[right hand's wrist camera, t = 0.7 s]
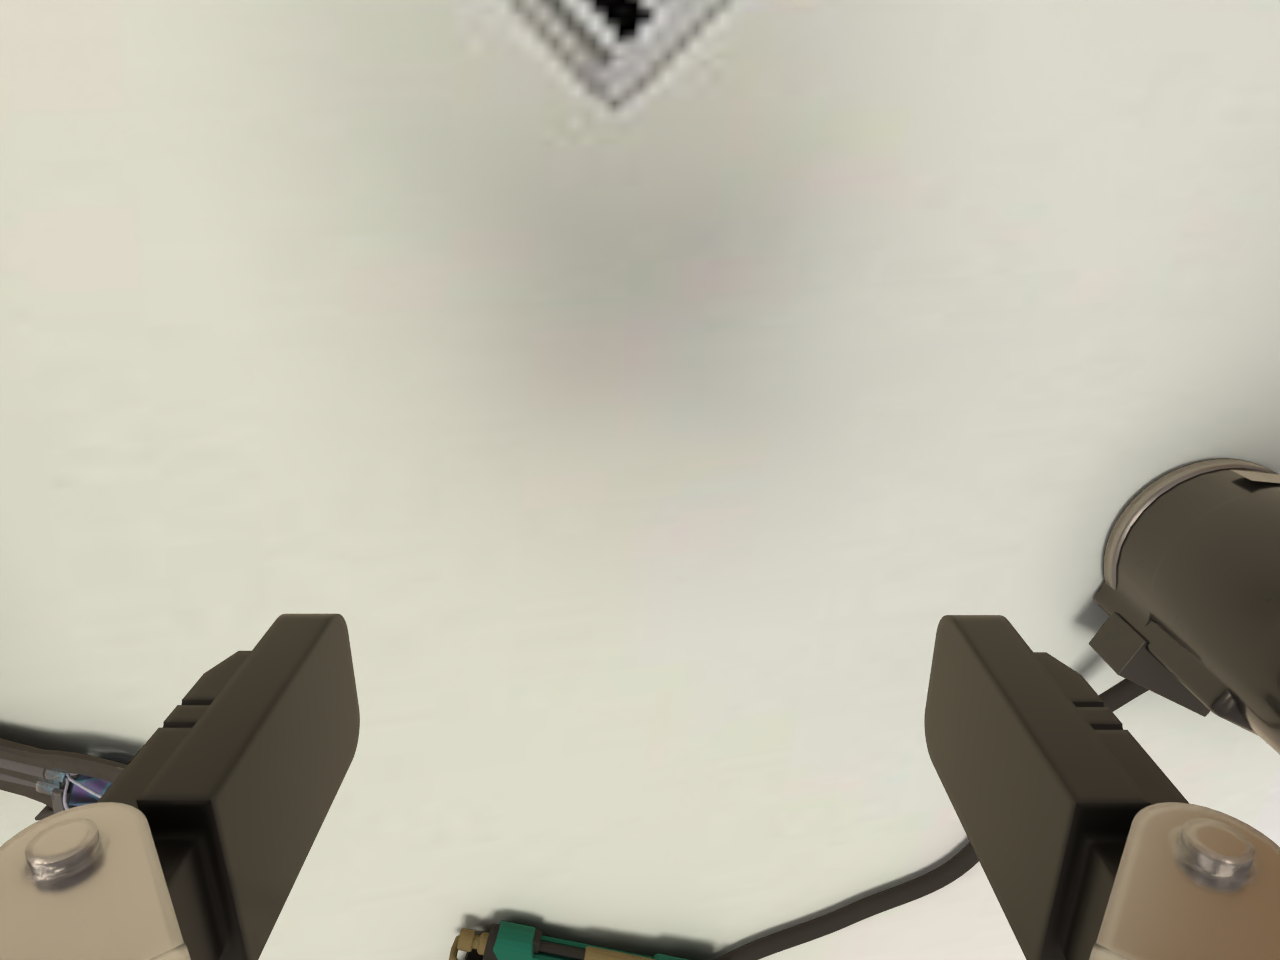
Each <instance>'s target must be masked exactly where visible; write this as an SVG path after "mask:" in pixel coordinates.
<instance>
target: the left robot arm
mask: <svg viewBox="0 0 1280 960" xmlns="http://www.w3.org/2000/svg"><path fill="white" fill-rule="evenodd" d="M1104 578H1105V582H1104V584H1103V586H1102V587H1101V589H1100V590H1099V591H1098V593H1097V594H1096V595H1095V597H1094V600H1095V602H1096V603H1097V604H1098V605H1099V606H1100V607H1102V608H1103V609H1104V610H1105V611H1106V612H1107V613H1108V614H1109V615H1110V617H1109V618H1108V619H1107V621H1106V622H1105V623H1104V624H1103V626H1102V627H1101V628H1100V630H1099V631H1098V632H1097V633H1096V635H1095V636H1094V637H1093V639H1092V640H1091V641H1090V642H1089V645H1090V646H1091V647H1092V648H1093V649H1094V650H1095V651H1096V652H1097V653H1098V654H1099V655H1100V656H1101V657H1102V658H1103V659H1104V661H1105V662H1106V663H1107V664H1108V665H1109V666H1110V667H1111V668H1112V669H1113V670H1114V671H1115V672H1116V673H1117V674H1118V675H1120V676H1122V677H1124V678H1126V679H1124V680H1123V681H1121V682H1119V683H1118V684H1116V685H1115V686H1113V687H1111V688H1110V689H1108V690H1107V691H1105V692H1104V693H1102V694H1100V695H1099V697H1100V698H1101V699H1102V700H1103V702H1104V707H1108V708H1109V709H1110V710H1111V711H1112V712H1113V711H1115V710H1116V709H1118V708H1120V707H1121V706H1123V705H1125V704H1126V703H1128V702H1129V701H1131V700H1133V699H1134V698H1136V697H1138V696H1139V695H1141V694H1143V693H1145V692H1146V691H1148V690H1151V691H1153V692H1155V693H1157V694H1159V695H1161V696H1163V697H1165V698H1167V699H1169V700H1171V701H1173V702H1175V703H1177V704H1179V705H1181V706H1184V707H1186V708H1188V709H1190V710H1192V711H1194V712H1196V713H1198V714H1200V715H1202V716H1204V717H1205V716H1206V715H1207V714H1208V713H1209V712H1210V711H1212V712H1213V713H1214V714H1216V715H1218V716H1219V717H1221V718H1223V719H1225V720H1228V721H1230V722H1232V723H1234V724H1236V725H1238V726H1240V727H1242V728H1244V729H1246V730H1248V731H1250V732H1252V733H1254V734H1256V735H1258V736H1260V737H1261V738H1262V739H1263V740H1264V741H1265V742H1266V743H1267V744H1269V745H1270V746H1271V747H1272V748H1273V749H1274V750H1275V751H1276V752H1278V753H1279V754H1280V474H1277V473H1275V472H1273V471H1271V470H1268V469H1266V468H1264V467H1262V466H1260V465H1257V464H1254V463H1251V462H1247V461H1242V460H1234V459H1216V460H1208V461H1202V462H1198V463H1193V464H1190V465H1187V466H1184V467H1181V468H1179V469H1177V470H1174V471H1172V472H1170V473H1168V474H1166V475H1164V476H1163V477H1161V478H1159V479H1158V480H1156V481H1155V482H1153V483H1152V484H1151V485H1149V486H1148V487H1146V488H1145V489H1144V490H1143V491H1142V492H1141V493H1139V494H1138V495H1137V496H1136V497H1135V498H1134V499H1133V500H1132V501H1131V502H1130V504H1129V505H1128V506H1127V507H1126V509H1125V510H1124V511H1123V513H1122V514H1121V515H1120V517H1119V518H1118V520H1117V522H1116V524H1115V525H1114V527H1113V529H1112V532H1111V534H1110V536H1109V539H1108V542H1107V546H1106V550H1105V555H1104ZM977 862H979V859H978V857H977V855H976V853H975V851H974V849H973V847H972V845H971V842H969V844H968V845H967V846H966V847H965V848H964V849H962V850H961V851H960V852H959V853H958V854H957V855H956V856H954V857H953V858H952V859H951V860H949V861H948V862H946V863H945V864H943V865H942V866H940V867H938V868H937V869H935V870H933V871H931V872H929V873H927V874H925V875H923V876H921V877H919V878H916V879H914V880H912V881H909V882H907V883H904V884H901V885H899V886H896V887H893V888H891V889H888V890H885V891H883V892H880V893H877V894H875V895H872V896H869V897H867V898H864V899H862V900H859V901H857V902H855V903H852V904H850V905H848V906H846V907H843V908H841V909H839V910H836V911H834V912H832V913H829V914H827V915H824V916H822V917H819V918H817V919H814V920H811V921H809V922H806V923H803V924H800V925H797V926H795V927H792V928H789V929H786V930H783V931H780V932H778V933H775V934H772V935H769V936H766V937H764V938H761V939H759V940H756V941H754V942H751V943H749V944H746V945H744V946H742V947H739V948H737V949H735V950H733V951H731V952H729V953H727V954H725V955H723V956H721V957H719V958H717V959H715V960H758V959H761V958H763V957H766V956H769V955H771V954H774V953H777V952H780V951H782V950H785V949H788V948H791V947H794V946H797V945H800V944H803V943H806V942H808V941H811V940H814V939H817V938H820V937H822V936H825V935H827V934H830V933H833V932H835V931H838V930H840V929H842V928H845V927H847V926H849V925H852V924H854V923H856V922H859V921H861V920H863V919H866V918H868V917H871V916H873V915H876V914H878V913H881V912H883V911H886V910H889V909H892V908H894V907H897V906H900V905H902V904H905V903H908V902H911V901H913V900H916V899H918V898H921V897H923V896H925V895H928V894H930V893H932V892H934V891H936V890H938V889H940V888H942V887H944V886H946V885H948V884H949V883H951V882H953V881H954V880H956V879H957V878H959V877H960V876H962V875H963V874H964V873H966V872H967V871H968V870H970V869H971V868H972V867H973V866H974V865H975V864H976V863H977Z"/></svg>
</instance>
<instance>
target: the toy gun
mask: <svg viewBox="0 0 1280 960" xmlns="http://www.w3.org/2000/svg"><path fill="white" fill-rule="evenodd" d="M126 767H127V764H123V763H119V762H115V761H111V760H107V759H104V758H99V757H95V756H91V755H87V754H82V753H76V752H68V751H59V750H47V749H40V748H37V747H33V746H29V745H25V744H21V743H17V742H14V741H10V740H6V739H2V738H0V790H4V791H8V792H12V793H15V794H19V795H23V796H26V797H29V798H31V799H34V800H37V801H39V802H42V803H44V804H46V805H47V806H46V807H45V808H44V809H43V810H42V811H41V812H40V813H39V814H38V815H37V816H36V817H35V820H42V819H44V818H46V817H48V816H51V815H53V814H56V813H58V812H61V811H64V810H67V809H70V808H73V807H77V806H82V805H86V804H93V803H96V802H97V801H98V800H99V799H100V798H101V796H102V795H103V794H104V793H105V792H106V790H107V789H108V788H109V787H110V786H111V784H112V783H113V782H114V781H115V780H116V779H117V777H118V776H119V775H120V774H121V773H122V771H123V770H124V769H125V768H126Z"/></svg>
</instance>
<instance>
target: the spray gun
mask: <svg viewBox="0 0 1280 960" xmlns="http://www.w3.org/2000/svg"><path fill="white" fill-rule="evenodd" d="M458 950H462V951H467V954H466V957H465V960H688V959H683V958H678V957H673V956H669V955H664V954H659V953H658V954H655V955H654V957H650V956H645V955H640V954H635V953H630V952H625V951H619V950H614V949H609V948H604V947H599V946H594V945H589V944H584V943H579V942H574V941H569V940H564V939H558V938H553V937H548V936H543V935H542V931H540V930H537V929H536V928H535V927H531V926H526V925H521V924H516V923H512V922H507V921H501V923H500V925H497V924H492V925H491V929H490V933H487V932H483V933H481V935H480V936H479V935H476V931H475V930H470V929H465V928H463V929H462V930H461V933H460V935H459V936H457V937H456V938H455V941H454V943H453V946H452V948H451V952H450V957H449V960H458V959H457V952H458Z"/></svg>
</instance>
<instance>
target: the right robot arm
mask: <svg viewBox="0 0 1280 960" xmlns="http://www.w3.org/2000/svg"><path fill="white" fill-rule="evenodd" d="M359 726H360V714H359V705H358V698H357V691H356V684H355V677H354V670H353V663H352V656H351V649H350V642H349V635H348V629H347V625H346V622H345V620H344V618H343V617H342V616H341V615H340V614H282V615H281V616H279V617H278V618H277V619H276V621H275V622H274V623H273V624H272V626H271V627H270V628H269V630H268V631H267V632H266V633H265V635H264V636H263V637H262V639H261V640H260V641H259V643H258V644H257V645H256V646H255V648H254V649H253V650H252V651H238V652H236V653H235V654H233V655H232V656H230V657H229V658H227V659H226V660H224V661H223V662H221V663H220V664H218V665H216V666H215V667H213V668H212V669H210V670H209V671H207V672H206V673H204V674H203V675H202V677H201V678H200V679H199V680H198V681H197V683H196V684H195V685H194V686H193V687H192V689H191V690H190V691H189V692H188V693H187V695H186V696H185V697H184V698H183V699H182V705H177V707H176V708H175V709H174V710H173V711H172V713H171V714H170V715H169V716H168V717H167V719H166V720H165V721H164V726H163V728H158V729H157V731H156V732H155V733H154V734H153V735H152V737H151V738H150V739H149V740H148V741H147V743H146V744H145V745H144V746H143V747H142V749H141V750H140V751H139V752H138V753H137V755H136V756H135V757H134V758H133V759H132V761H131V762H130V763H129V764H128V765H127V767H126V768H125V769H124V770H123V771H122V773H121V774H120V775H119V776H118V777H117V779H116V780H115V781H114V782H113V783H112V784H111V786H110V787H109V788H108V789H107V790H106V792H105V793H104V794H103V795H102V796H101V798H100V799H99V800H98V801H97V802H96V803H93V804H86V805H82V806H77V807H73V808H70V809H67V810H64V811H61V812H58V813H56V814H53V815H51V816H48V817H46V818H44V819H42V820H40V821H38V822H36V823H34V824H32V825H30V826H29V827H27V828H26V829H24V830H22V831H21V832H19V833H18V834H16V835H15V836H14V837H12V838H11V839H10V840H8V841H7V842H6V843H5V844H3V845H2V846H1V847H0V960H258V959H259V957H260V955H261V953H262V950H263V948H264V946H265V944H266V942H267V940H268V938H269V936H270V933H271V931H272V929H273V927H274V925H275V923H276V921H277V919H278V917H279V914H280V912H281V910H282V908H283V906H284V904H285V902H286V900H287V897H288V895H289V893H290V891H291V889H292V887H293V885H294V883H295V881H296V878H297V876H298V874H299V872H300V870H301V868H302V866H303V864H304V861H305V859H306V857H307V855H308V853H309V851H310V849H311V847H312V845H313V842H314V840H315V838H316V836H317V834H318V832H319V830H320V828H321V826H322V823H323V821H324V819H325V817H326V815H327V813H328V811H329V809H330V806H331V804H332V802H333V800H334V798H335V796H336V794H337V792H338V790H339V787H340V785H341V783H342V781H343V779H344V777H345V775H346V773H347V770H348V768H349V766H350V764H351V762H352V760H353V757H354V754H355V751H356V747H357V743H358V736H359ZM925 736H926V743H927V748H928V752H929V755H930V758H931V761H932V763H933V765H934V767H935V769H936V771H937V773H938V776H939V778H940V780H941V782H942V784H943V786H944V788H945V790H946V792H947V794H948V796H949V799H950V801H951V803H952V805H953V807H954V809H955V811H956V813H957V815H958V817H959V819H960V822H961V824H962V826H963V828H964V830H965V832H966V834H967V836H968V838H969V840H970V842H971V845H972V847H973V849H974V851H975V853H976V855H977V857H978V859H979V861H980V863H981V865H982V868H983V870H984V872H985V874H986V876H987V878H988V880H989V882H990V884H991V886H992V888H993V891H994V893H995V895H996V897H997V899H998V901H999V903H1000V905H1001V907H1002V909H1003V911H1004V914H1005V916H1006V918H1007V920H1008V922H1009V924H1010V926H1011V928H1012V930H1013V932H1014V934H1015V937H1016V939H1017V941H1018V943H1019V945H1020V947H1021V949H1022V951H1023V953H1024V955H1025V957H1026V960H1280V847H1279V846H1278V845H1277V844H1275V843H1274V842H1273V841H1272V840H1270V839H1269V838H1268V837H1266V836H1265V835H1264V834H1262V833H1261V832H1259V831H1258V830H1256V829H1254V828H1253V827H1251V826H1250V825H1248V824H1246V823H1244V822H1242V821H1240V820H1238V819H1236V818H1234V817H1232V816H1229V815H1227V814H1224V813H1222V812H1219V811H1216V810H1213V809H1210V808H1207V807H1203V806H1198V805H1194V804H1189V803H1188V801H1187V800H1186V799H1185V798H1184V797H1183V795H1182V794H1181V793H1180V792H1179V791H1178V789H1177V788H1176V787H1175V786H1174V785H1173V784H1172V782H1171V781H1170V780H1169V779H1168V778H1167V776H1166V775H1165V774H1164V773H1163V772H1162V770H1161V769H1160V768H1159V767H1158V766H1157V765H1156V763H1155V762H1154V761H1153V760H1152V759H1151V757H1150V756H1149V755H1148V754H1147V753H1146V751H1145V750H1144V749H1143V748H1142V747H1141V746H1140V744H1139V743H1138V742H1137V741H1136V740H1135V738H1134V737H1133V736H1132V735H1131V734H1130V732H1129V731H1128V730H1123V727H1122V723H1121V722H1120V721H1119V719H1118V718H1117V717H1116V716H1115V715H1114V713H1113V712H1112V711H1111V710H1110V709H1109V708H1108V707H1104V702H1103V700H1102V699H1101V698H1100V697H1099V696H1098V695H1097V693H1096V692H1095V691H1094V690H1093V689H1092V687H1091V686H1090V685H1089V684H1088V683H1087V681H1086V680H1085V679H1084V678H1083V677H1082V676H1081V675H1080V674H1079V673H1077V672H1076V671H1074V670H1072V669H1071V668H1069V667H1068V666H1066V665H1065V664H1063V663H1062V662H1060V661H1059V660H1057V659H1056V658H1054V657H1052V656H1051V655H1049V654H1048V653H1046V652H1033V651H1032V650H1031V649H1030V648H1029V646H1028V645H1027V644H1026V643H1025V641H1024V640H1023V639H1022V637H1021V636H1020V635H1019V634H1018V632H1017V631H1016V630H1015V629H1014V627H1013V626H1012V625H1011V623H1010V622H1009V621H1008V620H1007V619H1006V618H1005V617H1004V616H1001V615H946V616H944V617H942V619H941V620H940V622H939V625H938V628H937V633H936V640H935V647H934V654H933V660H932V667H931V674H930V681H929V688H928V695H927V702H926V709H925Z"/></svg>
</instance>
